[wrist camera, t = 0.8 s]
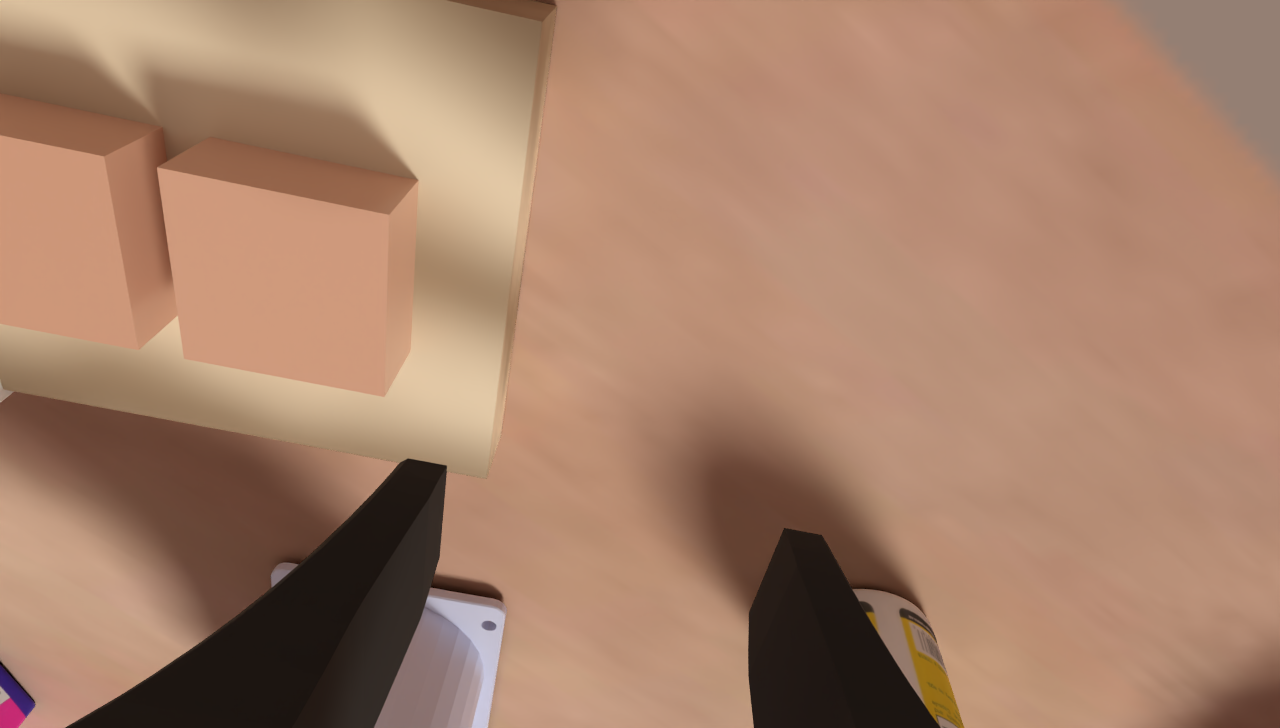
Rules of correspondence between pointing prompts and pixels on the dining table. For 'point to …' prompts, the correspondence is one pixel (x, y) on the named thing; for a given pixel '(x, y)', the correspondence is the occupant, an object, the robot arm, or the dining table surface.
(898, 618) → the supplement bottle
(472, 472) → the plate
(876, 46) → the dining table surface
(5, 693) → the supplement box
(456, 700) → the robot arm
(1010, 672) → the dining table surface
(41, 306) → the tile
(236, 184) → the tile
